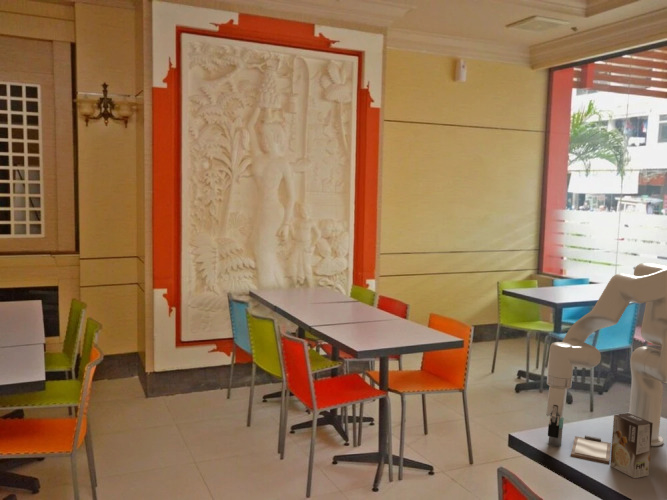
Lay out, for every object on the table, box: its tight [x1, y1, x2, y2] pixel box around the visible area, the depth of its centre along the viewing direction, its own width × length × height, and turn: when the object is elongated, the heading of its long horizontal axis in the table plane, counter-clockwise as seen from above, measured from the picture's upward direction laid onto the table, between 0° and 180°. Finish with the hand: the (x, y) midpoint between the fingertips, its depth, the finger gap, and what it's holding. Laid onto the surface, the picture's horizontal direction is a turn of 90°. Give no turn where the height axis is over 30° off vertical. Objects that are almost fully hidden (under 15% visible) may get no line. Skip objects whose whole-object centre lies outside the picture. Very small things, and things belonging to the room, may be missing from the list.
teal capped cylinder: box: [548, 417, 565, 448], centre depth 200 cm, size 4×4×9 cm
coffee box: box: [609, 412, 653, 479], centre depth 182 cm, size 9×6×16 cm
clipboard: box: [570, 435, 612, 465], centre depth 197 cm, size 16×11×2 cm
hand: (554, 431), depth 200 cm, fingers open, 9 cm apart
